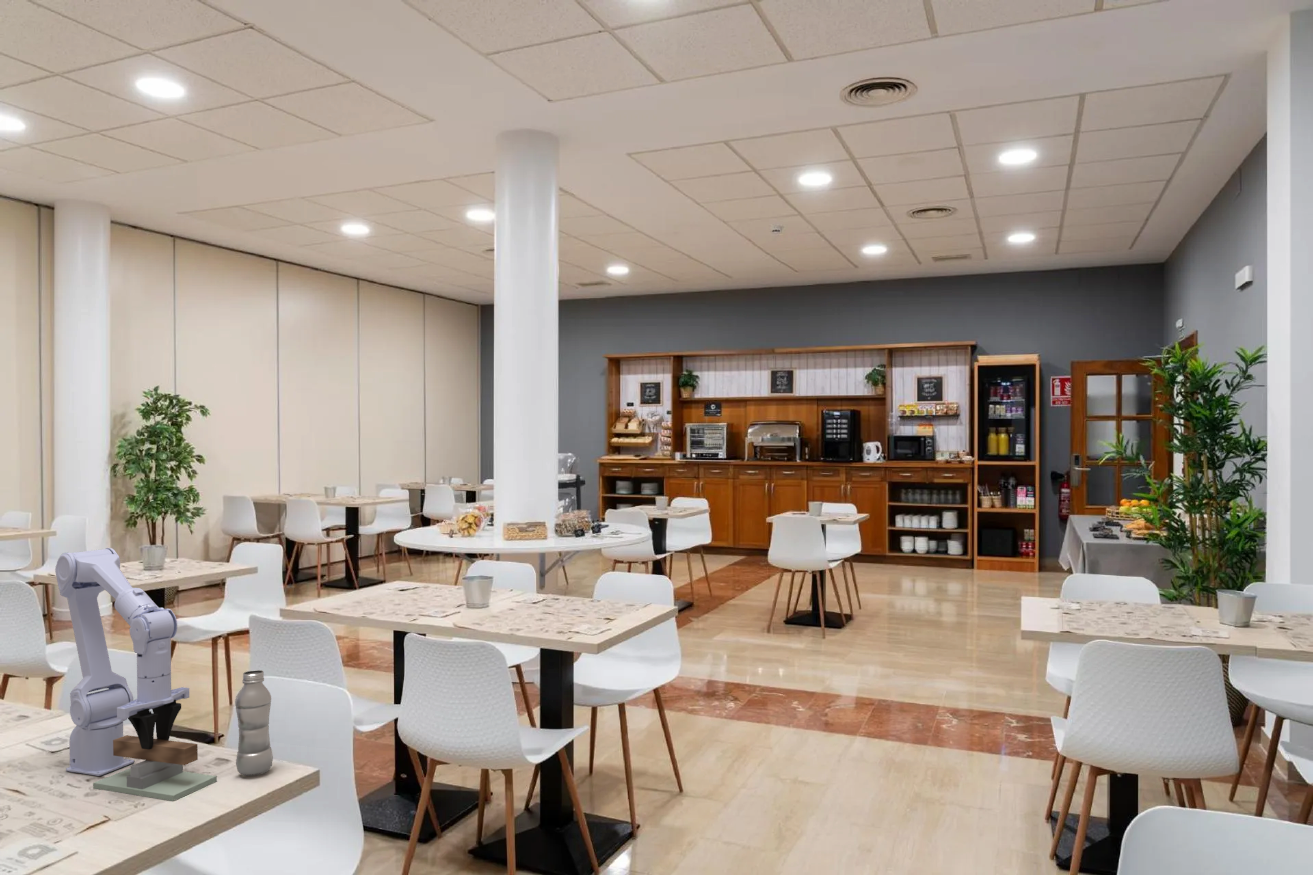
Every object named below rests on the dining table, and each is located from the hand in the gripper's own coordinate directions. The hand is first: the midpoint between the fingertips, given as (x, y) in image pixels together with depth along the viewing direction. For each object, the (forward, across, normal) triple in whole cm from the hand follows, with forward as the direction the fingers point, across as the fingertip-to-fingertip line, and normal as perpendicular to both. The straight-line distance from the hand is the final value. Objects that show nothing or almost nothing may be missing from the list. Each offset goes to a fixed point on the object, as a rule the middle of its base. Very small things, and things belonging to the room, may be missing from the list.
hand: (155, 745), depth 173 cm
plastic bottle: (+8, +10, -14) cm, 19 cm away
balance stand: (+8, 0, 0) cm, 8 cm away
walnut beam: (+2, 0, 0) cm, 2 cm away
